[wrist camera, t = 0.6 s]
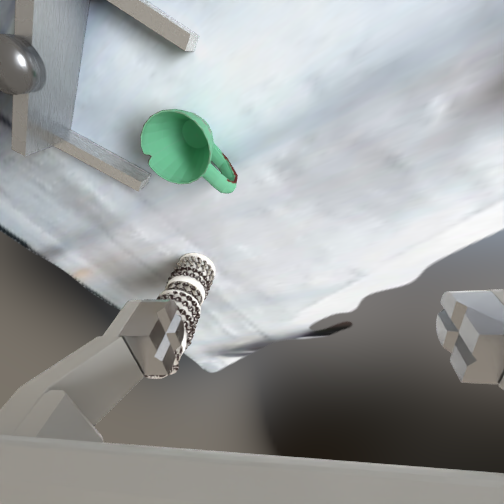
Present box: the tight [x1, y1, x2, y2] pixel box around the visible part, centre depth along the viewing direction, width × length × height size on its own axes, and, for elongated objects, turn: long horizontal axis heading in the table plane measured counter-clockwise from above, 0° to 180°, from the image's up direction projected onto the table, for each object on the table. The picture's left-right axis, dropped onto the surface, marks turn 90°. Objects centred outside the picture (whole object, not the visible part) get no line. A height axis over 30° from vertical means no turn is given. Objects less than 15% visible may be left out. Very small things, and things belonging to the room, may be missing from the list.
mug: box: [141, 109, 238, 193], centre depth 44 cm, size 15×10×10 cm
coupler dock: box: [0, 0, 199, 191], centre depth 40 cm, size 19×25×13 cm
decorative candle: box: [144, 253, 215, 379], centre depth 54 cm, size 9×9×25 cm
